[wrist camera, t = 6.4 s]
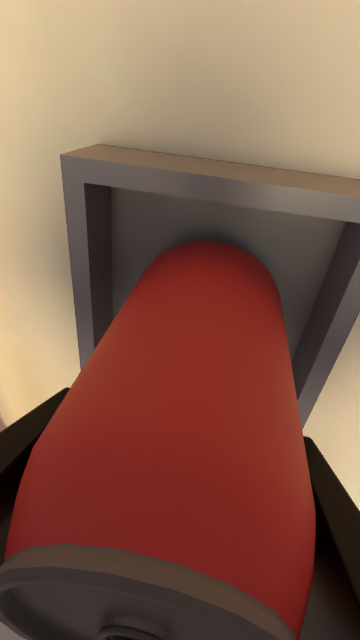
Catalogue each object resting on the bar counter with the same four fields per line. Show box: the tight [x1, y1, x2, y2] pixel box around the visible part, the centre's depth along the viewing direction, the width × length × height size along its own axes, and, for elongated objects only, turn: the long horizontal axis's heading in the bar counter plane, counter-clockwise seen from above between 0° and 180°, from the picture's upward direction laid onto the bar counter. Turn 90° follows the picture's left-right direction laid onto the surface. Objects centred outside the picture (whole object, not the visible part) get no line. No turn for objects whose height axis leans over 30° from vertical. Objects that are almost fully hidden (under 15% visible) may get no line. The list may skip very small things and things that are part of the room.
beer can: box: [0, 240, 316, 640], centre depth 11 cm, size 7×7×12 cm
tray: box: [60, 144, 360, 429], centre depth 15 cm, size 12×12×4 cm
